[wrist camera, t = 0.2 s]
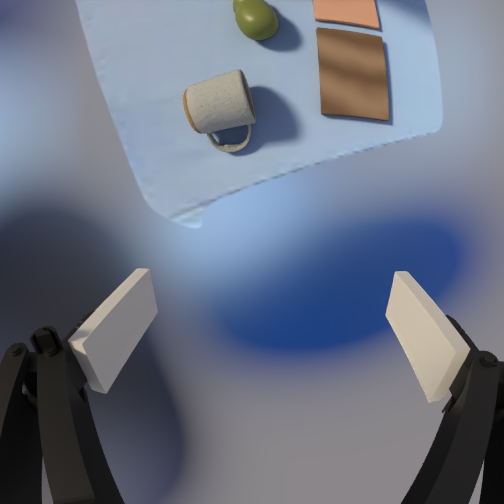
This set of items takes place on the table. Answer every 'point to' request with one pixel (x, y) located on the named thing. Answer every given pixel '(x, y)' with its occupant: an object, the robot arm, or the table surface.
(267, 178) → the table surface
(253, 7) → the green oblong lump
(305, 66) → the table surface
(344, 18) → the terracotta tile
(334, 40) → the walnut board
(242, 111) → the ceramic mug
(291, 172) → the table surface
